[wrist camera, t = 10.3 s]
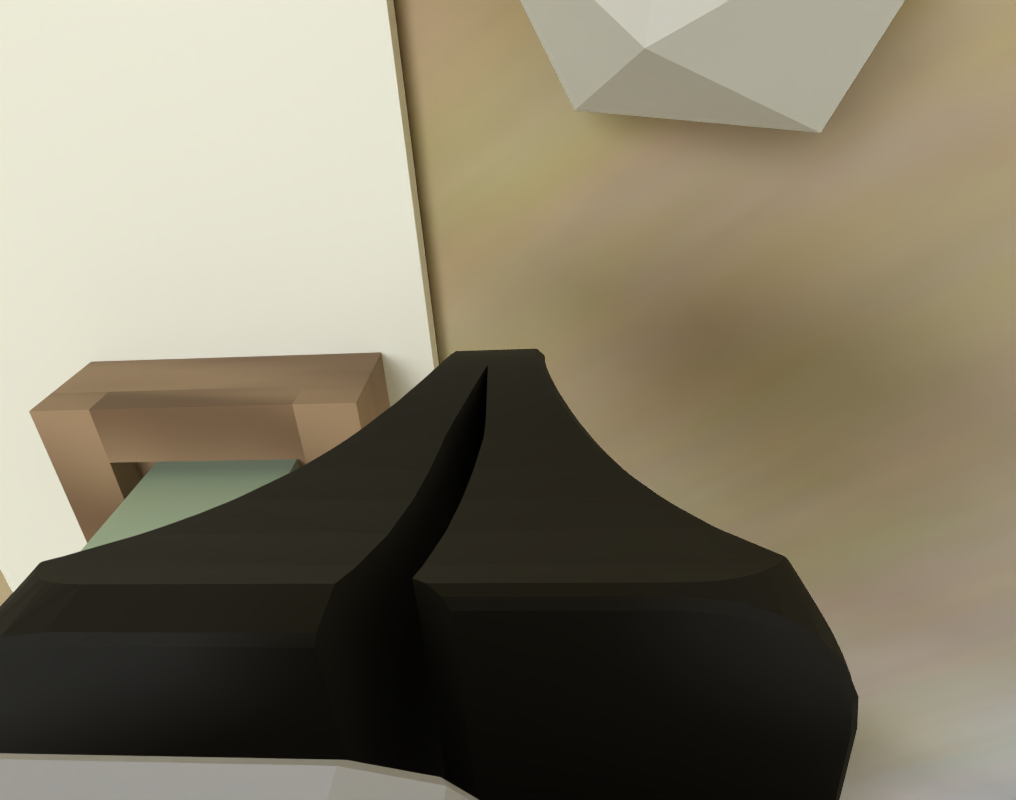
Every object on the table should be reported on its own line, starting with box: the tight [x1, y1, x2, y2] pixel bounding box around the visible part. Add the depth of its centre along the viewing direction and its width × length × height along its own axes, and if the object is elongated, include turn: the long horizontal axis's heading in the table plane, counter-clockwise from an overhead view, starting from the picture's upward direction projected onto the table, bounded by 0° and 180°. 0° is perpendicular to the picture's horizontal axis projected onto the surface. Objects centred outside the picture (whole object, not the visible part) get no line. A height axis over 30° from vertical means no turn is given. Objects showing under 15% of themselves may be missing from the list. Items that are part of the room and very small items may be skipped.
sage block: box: [81, 459, 300, 551], centre depth 20 cm, size 4×4×4 cm
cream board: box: [0, 0, 439, 592], centre depth 22 cm, size 22×17×1 cm
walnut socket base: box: [29, 352, 390, 543], centre depth 23 cm, size 9×9×3 cm
